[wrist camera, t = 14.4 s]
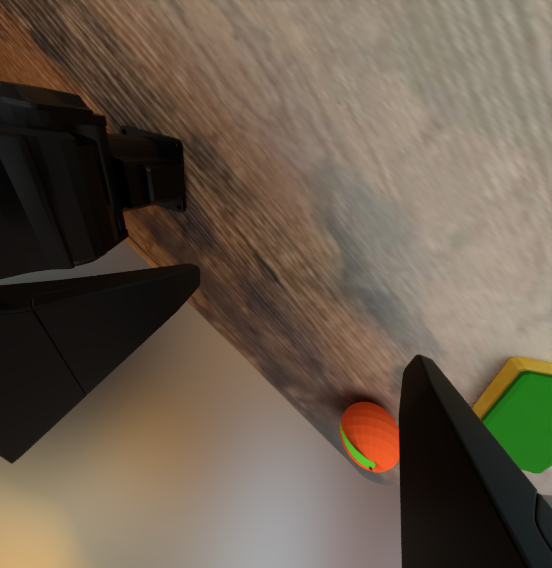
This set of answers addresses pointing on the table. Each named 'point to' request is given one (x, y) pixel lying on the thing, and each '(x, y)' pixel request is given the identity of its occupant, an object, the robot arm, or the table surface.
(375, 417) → the clementine
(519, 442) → the dish sponge
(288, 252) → the table surface
